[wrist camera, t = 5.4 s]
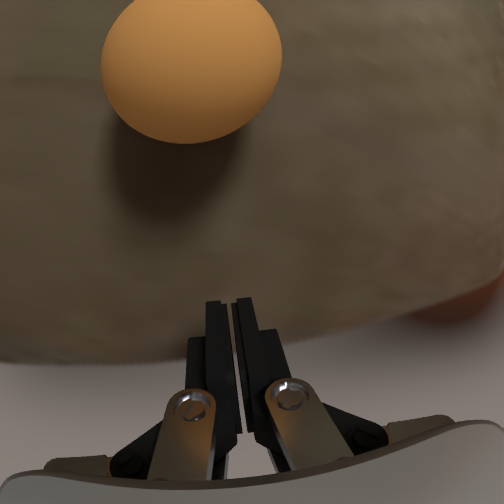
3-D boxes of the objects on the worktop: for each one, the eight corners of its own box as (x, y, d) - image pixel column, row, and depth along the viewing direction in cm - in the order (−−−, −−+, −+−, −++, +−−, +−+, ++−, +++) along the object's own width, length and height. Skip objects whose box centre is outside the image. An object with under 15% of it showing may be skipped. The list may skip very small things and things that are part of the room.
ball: (208, 166, 13) (211, 196, 7) (101, 98, 11) (32, 84, 5) (289, 63, 11) (349, 26, 6) (183, -5, 9) (172, -77, 4)
